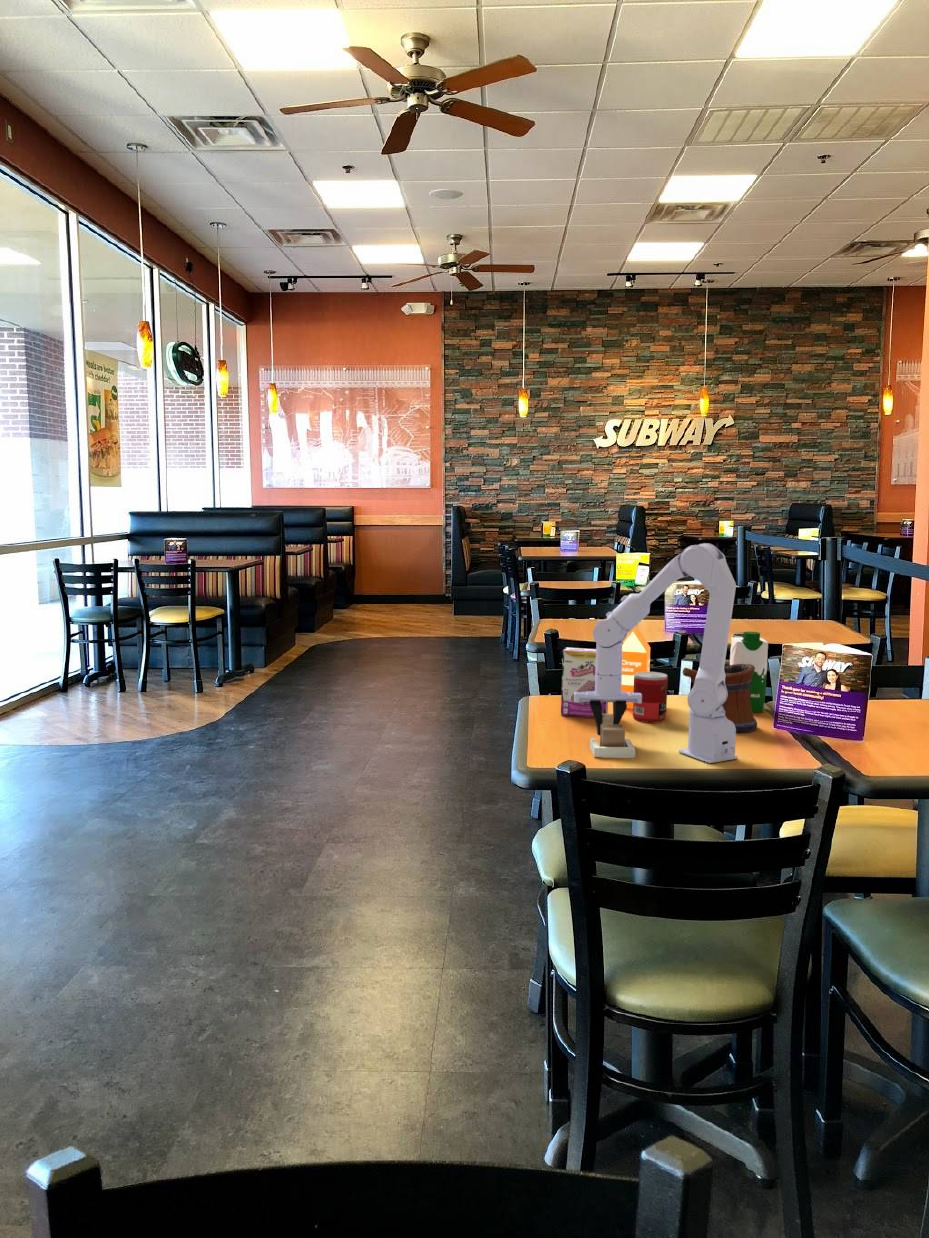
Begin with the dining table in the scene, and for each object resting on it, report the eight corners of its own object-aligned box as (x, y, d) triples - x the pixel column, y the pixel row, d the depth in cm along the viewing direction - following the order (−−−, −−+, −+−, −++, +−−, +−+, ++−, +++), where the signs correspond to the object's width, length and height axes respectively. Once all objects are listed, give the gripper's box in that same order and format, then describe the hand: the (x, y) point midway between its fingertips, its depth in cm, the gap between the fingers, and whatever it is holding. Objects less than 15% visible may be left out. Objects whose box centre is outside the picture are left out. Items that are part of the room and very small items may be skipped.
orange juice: (614, 707, 238) (616, 629, 235) (619, 700, 246) (621, 625, 243) (645, 709, 235) (648, 631, 233) (649, 702, 244) (651, 626, 241)
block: (624, 755, 194) (624, 727, 193) (602, 755, 194) (603, 727, 193) (616, 740, 206) (616, 713, 205) (595, 739, 206) (596, 713, 205)
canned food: (666, 723, 221) (667, 678, 220) (632, 721, 223) (633, 676, 221) (665, 716, 229) (667, 672, 227) (632, 714, 230) (634, 670, 229)
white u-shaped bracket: (634, 758, 192) (635, 748, 192) (594, 757, 192) (594, 748, 192) (629, 748, 200) (629, 738, 199) (589, 747, 200) (590, 738, 200)
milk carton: (731, 712, 233) (735, 633, 230) (725, 704, 242) (729, 628, 239) (767, 713, 232) (771, 634, 229) (760, 705, 241) (764, 629, 238)
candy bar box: (560, 716, 228) (561, 650, 225) (563, 711, 232) (564, 646, 230) (606, 719, 225) (608, 652, 223) (608, 714, 230) (610, 649, 227)
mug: (689, 734, 211) (692, 670, 209) (672, 722, 223) (675, 660, 220) (765, 733, 213) (769, 669, 211) (745, 721, 224) (748, 659, 222)
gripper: (639, 670, 206) (636, 730, 208) (573, 669, 207) (572, 729, 209) (644, 676, 199) (642, 738, 201) (576, 675, 200) (574, 737, 202)
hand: (606, 734), depth 205 cm, fingers open, 3 cm apart
